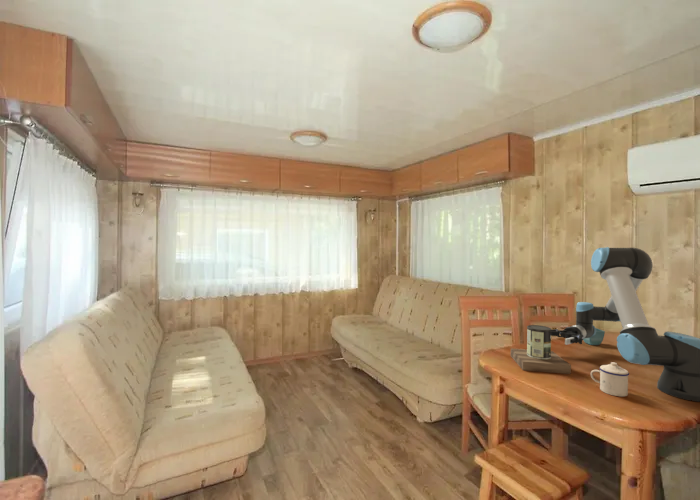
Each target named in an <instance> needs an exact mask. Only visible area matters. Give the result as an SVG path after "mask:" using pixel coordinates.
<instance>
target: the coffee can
mask: <svg viewBox="0 0 700 500" xmlns="http://www.w3.org/2000/svg"><path fill="white" fill-rule="evenodd" d="M526 328H527V329H526V332H527V333H526V334H527V336H526V341H527V342H526V349H527V355H528V356H530V357H532V358H536V359H543V360H547V359H551V351H552V349H551V348H552V347H551V346H552V336H551V329H552V328H551V327H549V326H546V325H540V324H539V325H538V324H537V325H535V324H530V325H526Z"/></svg>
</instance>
